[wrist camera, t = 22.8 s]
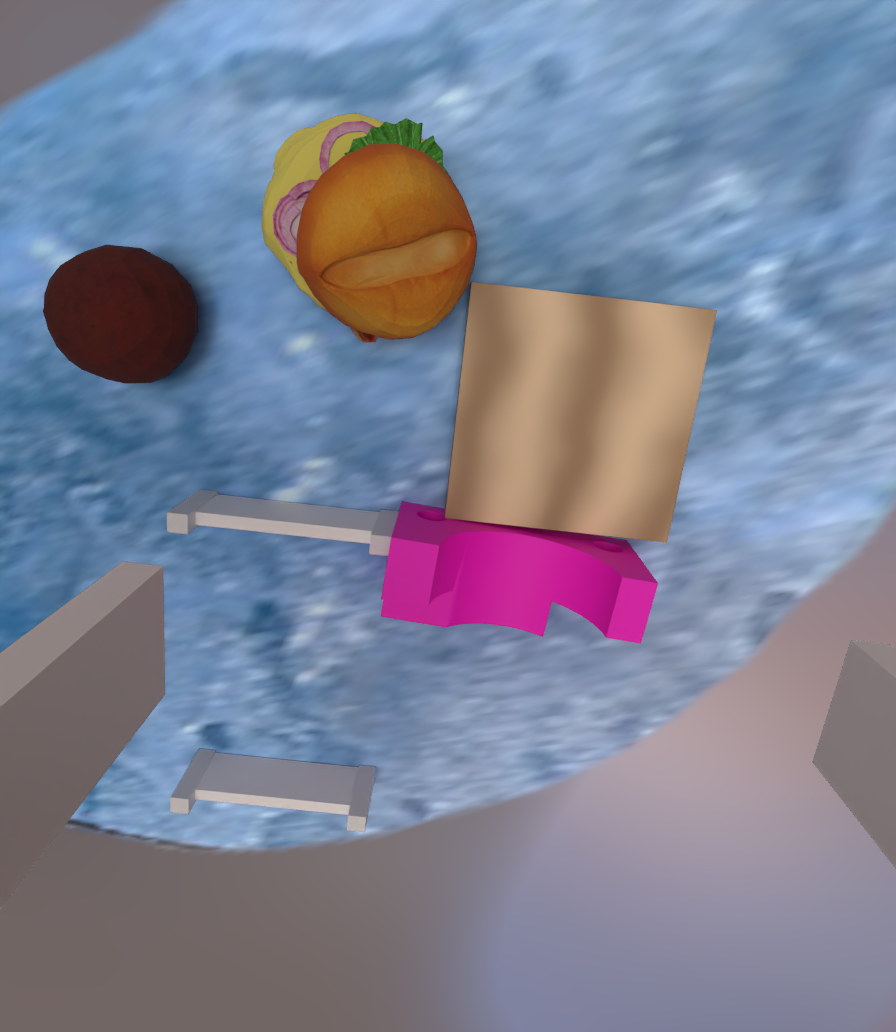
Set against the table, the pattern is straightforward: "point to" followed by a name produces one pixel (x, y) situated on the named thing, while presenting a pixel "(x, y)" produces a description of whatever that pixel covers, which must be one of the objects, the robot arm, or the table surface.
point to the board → (575, 411)
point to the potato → (121, 314)
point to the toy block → (511, 575)
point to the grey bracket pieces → (269, 776)
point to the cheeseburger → (370, 225)
